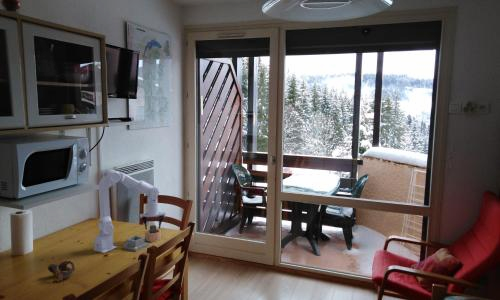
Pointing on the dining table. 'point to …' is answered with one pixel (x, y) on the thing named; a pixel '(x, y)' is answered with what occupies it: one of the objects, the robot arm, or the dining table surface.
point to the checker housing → (135, 243)
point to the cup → (153, 235)
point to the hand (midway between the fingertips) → (152, 228)
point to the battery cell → (153, 229)
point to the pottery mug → (62, 269)
